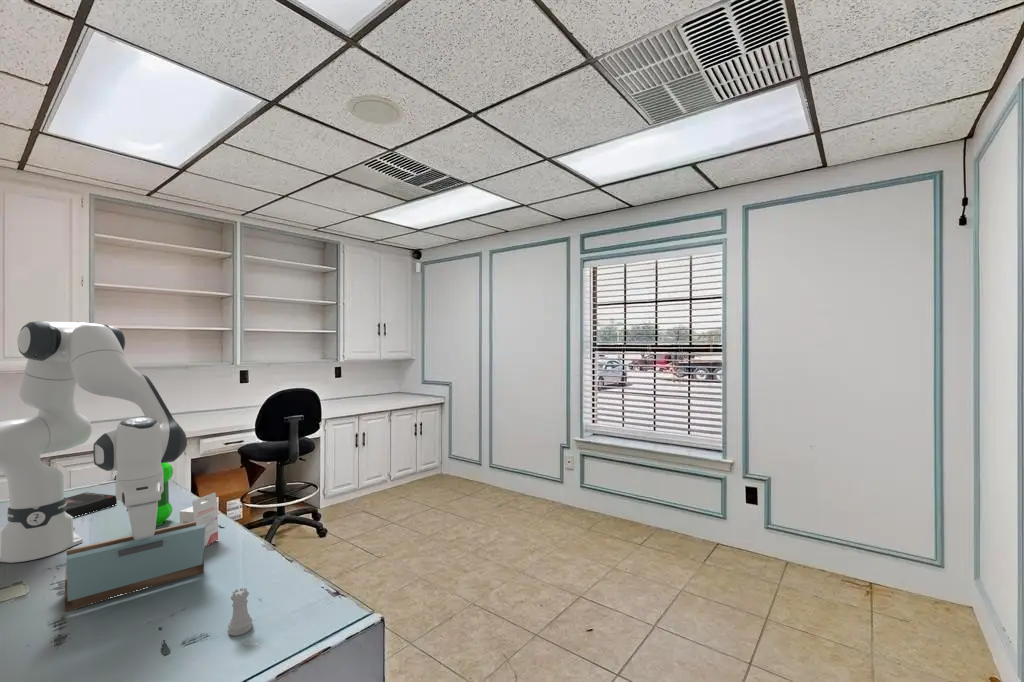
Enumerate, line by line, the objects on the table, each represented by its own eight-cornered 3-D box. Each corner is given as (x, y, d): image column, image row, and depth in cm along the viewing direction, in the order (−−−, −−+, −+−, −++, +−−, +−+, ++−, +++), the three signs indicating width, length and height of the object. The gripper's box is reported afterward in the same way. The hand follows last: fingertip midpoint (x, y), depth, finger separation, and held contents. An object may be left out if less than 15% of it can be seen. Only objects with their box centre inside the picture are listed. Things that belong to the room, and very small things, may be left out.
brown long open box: (67, 591, 113) (66, 549, 113) (196, 557, 131) (195, 521, 131) (65, 612, 104) (64, 566, 104) (203, 572, 122) (203, 533, 122)
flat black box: (29, 518, 165) (29, 507, 165) (86, 502, 181) (86, 492, 181) (61, 523, 160) (61, 511, 160) (116, 506, 176) (116, 495, 176)
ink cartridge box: (204, 539, 142) (203, 491, 143) (218, 540, 142) (217, 491, 142) (179, 552, 134) (178, 500, 134) (194, 553, 133) (193, 501, 133)
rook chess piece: (234, 624, 98) (233, 586, 98) (256, 623, 99) (256, 584, 99) (223, 637, 94) (222, 597, 94) (246, 636, 94) (245, 596, 94)
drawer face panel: (68, 597, 104) (66, 555, 100) (201, 560, 121) (204, 523, 117) (67, 604, 103) (66, 562, 99) (202, 566, 120) (205, 529, 116)
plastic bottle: (173, 524, 155) (172, 448, 155) (132, 532, 149) (131, 453, 149) (174, 515, 163) (173, 443, 164) (135, 522, 157) (134, 448, 158)
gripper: (120, 481, 116) (121, 537, 116) (125, 501, 101) (126, 565, 101) (152, 475, 121) (153, 529, 121) (161, 494, 105) (162, 556, 105)
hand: (141, 546), depth 111 cm, fingers closed
